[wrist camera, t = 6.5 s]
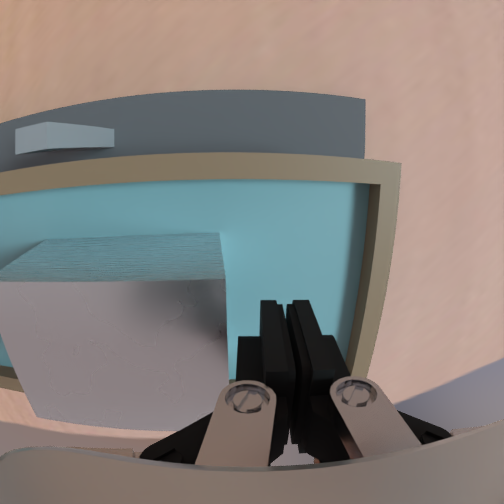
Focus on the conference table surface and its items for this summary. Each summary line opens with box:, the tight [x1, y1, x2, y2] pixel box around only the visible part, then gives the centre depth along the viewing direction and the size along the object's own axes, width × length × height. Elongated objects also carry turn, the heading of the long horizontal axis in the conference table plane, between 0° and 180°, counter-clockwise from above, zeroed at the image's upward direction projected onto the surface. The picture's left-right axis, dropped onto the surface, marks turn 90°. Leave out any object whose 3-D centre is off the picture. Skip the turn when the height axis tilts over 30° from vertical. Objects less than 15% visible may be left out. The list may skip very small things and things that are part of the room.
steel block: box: [0, 233, 229, 431], centre depth 11 cm, size 8×6×5 cm
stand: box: [0, 90, 365, 172], centre depth 17 cm, size 34×20×9 cm, turn 89°
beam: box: [0, 152, 401, 393], centre depth 13 cm, size 32×12×3 cm, turn 89°
